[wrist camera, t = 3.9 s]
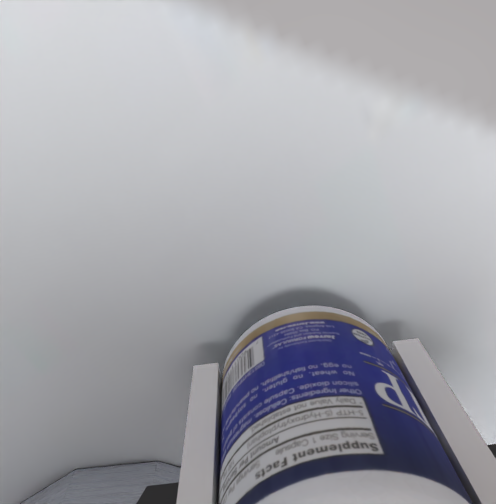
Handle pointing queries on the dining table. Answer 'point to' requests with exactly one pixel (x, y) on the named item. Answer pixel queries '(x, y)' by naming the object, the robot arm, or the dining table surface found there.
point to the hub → (106, 484)
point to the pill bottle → (325, 418)
